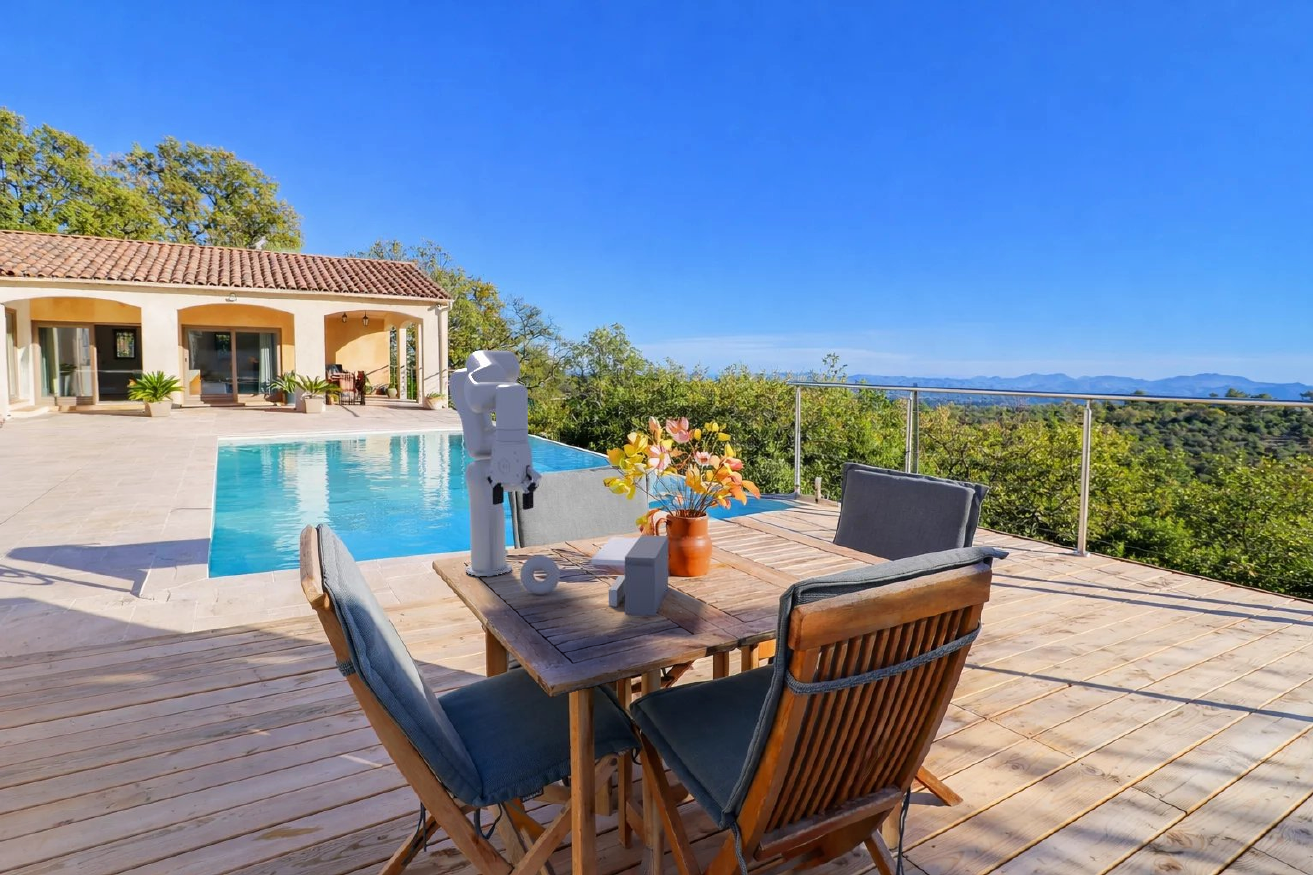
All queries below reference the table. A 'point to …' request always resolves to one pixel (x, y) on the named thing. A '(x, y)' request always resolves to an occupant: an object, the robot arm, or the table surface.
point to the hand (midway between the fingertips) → (512, 506)
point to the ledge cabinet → (637, 572)
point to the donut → (535, 585)
